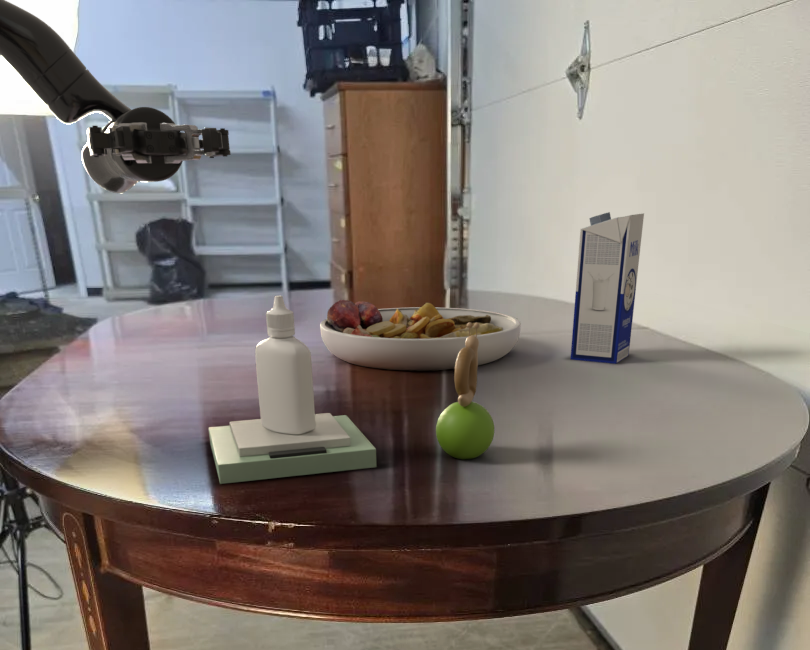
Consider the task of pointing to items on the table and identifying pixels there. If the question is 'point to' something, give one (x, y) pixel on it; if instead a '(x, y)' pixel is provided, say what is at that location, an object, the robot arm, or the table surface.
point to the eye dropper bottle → (284, 375)
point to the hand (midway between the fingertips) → (172, 139)
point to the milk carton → (606, 288)
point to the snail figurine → (465, 409)
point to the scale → (288, 449)
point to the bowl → (414, 335)
